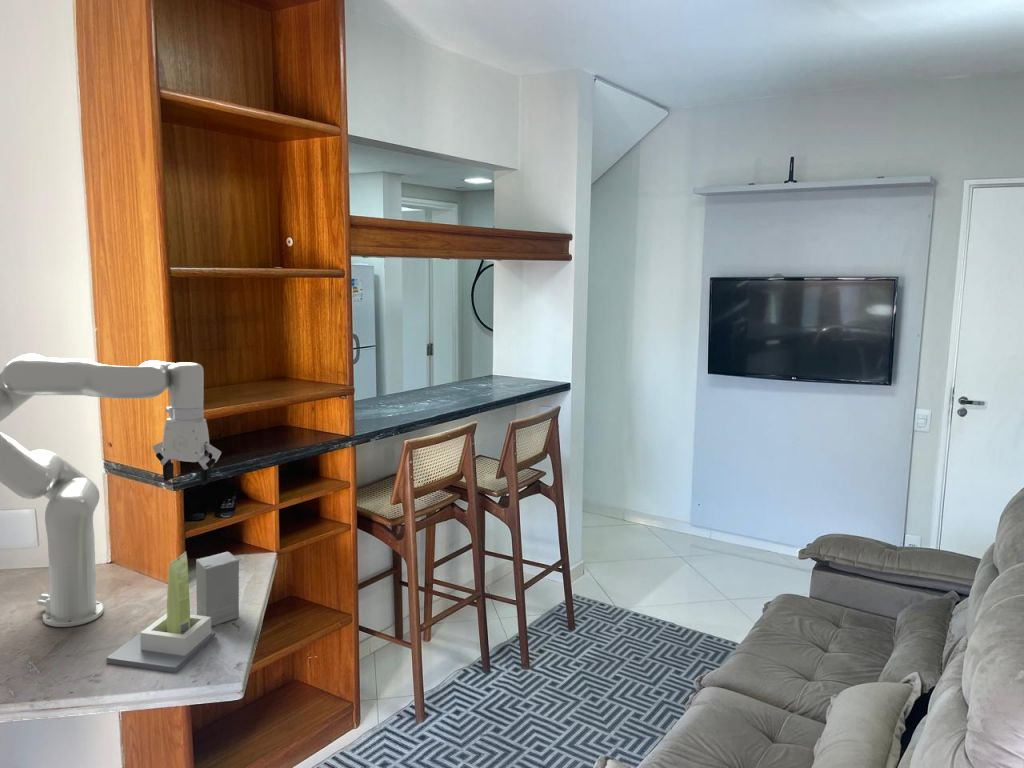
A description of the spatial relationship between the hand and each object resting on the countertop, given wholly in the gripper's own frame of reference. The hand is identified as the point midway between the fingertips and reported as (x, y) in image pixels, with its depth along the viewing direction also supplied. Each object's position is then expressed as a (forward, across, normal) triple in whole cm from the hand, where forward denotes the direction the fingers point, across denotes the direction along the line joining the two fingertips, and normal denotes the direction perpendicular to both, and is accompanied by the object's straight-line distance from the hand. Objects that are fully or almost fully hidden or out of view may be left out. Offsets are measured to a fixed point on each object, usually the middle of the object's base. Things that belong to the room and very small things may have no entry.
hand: (186, 481), depth 182 cm
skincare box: (+32, +11, -5) cm, 35 cm away
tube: (+31, +9, -18) cm, 37 cm away
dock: (+32, +7, -21) cm, 39 cm away
